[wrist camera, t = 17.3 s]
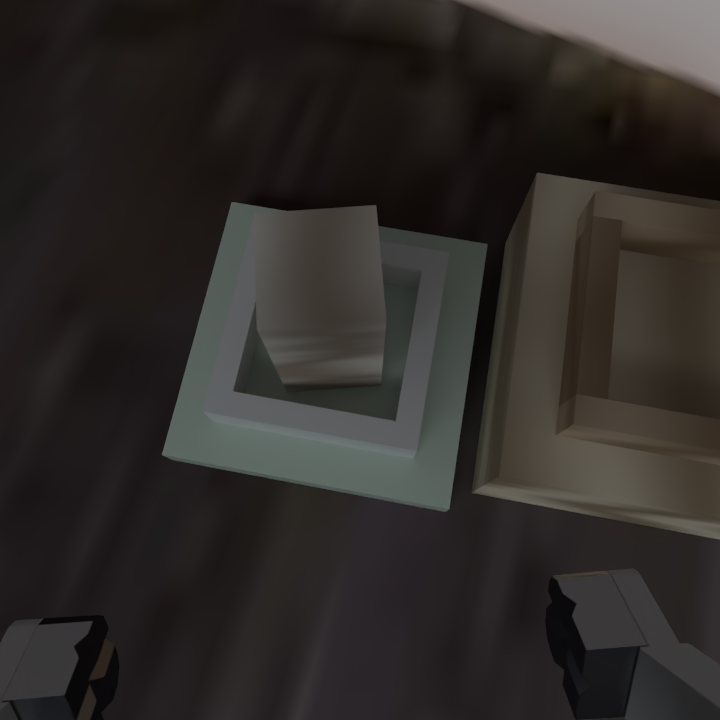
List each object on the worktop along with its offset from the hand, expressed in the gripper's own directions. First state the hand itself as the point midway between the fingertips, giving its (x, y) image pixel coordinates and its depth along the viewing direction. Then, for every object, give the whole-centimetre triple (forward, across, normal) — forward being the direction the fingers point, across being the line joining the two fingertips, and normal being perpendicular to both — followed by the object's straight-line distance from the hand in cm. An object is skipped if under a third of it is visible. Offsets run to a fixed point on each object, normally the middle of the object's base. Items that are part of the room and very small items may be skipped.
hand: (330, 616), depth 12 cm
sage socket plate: (+18, 0, +4) cm, 18 cm away
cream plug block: (+17, 0, +3) cm, 17 cm away
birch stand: (+16, -13, +6) cm, 21 cm away
